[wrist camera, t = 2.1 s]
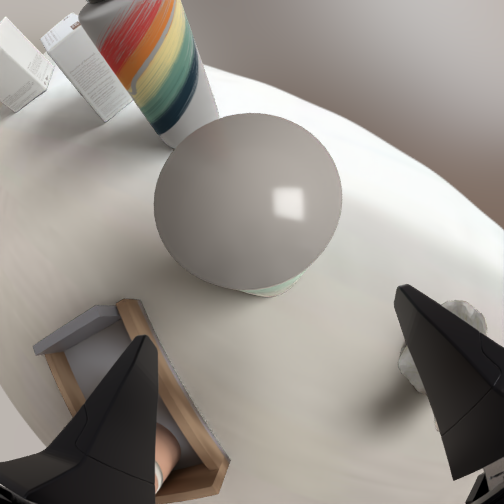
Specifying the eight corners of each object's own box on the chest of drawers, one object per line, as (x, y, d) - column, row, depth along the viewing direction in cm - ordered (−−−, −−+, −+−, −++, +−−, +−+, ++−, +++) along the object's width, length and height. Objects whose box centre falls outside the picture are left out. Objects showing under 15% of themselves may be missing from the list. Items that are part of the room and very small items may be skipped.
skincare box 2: (90, 101, 26) (36, 40, 14) (119, 77, 26) (72, 10, 14) (106, 125, 25) (42, 55, 13) (139, 98, 25) (86, 19, 13)
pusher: (127, 315, 20) (100, 316, 16) (64, 351, 20) (35, 355, 16) (123, 305, 20) (95, 305, 16) (61, 343, 20) (32, 346, 16)
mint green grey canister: (318, 273, 20) (378, 226, 7) (251, 311, 20) (202, 325, 7) (280, 210, 21) (278, 90, 8) (216, 245, 21) (132, 167, 8)
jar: (193, 462, 18) (173, 494, 13) (147, 472, 18) (122, 499, 13) (160, 412, 19) (131, 436, 14) (116, 426, 19) (84, 447, 14)
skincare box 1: (56, 66, 29) (9, 13, 14) (46, 92, 28) (-10, 35, 13) (23, 90, 30) (-25, 45, 15) (13, 116, 29) (-42, 71, 13)
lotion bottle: (152, 125, 24) (40, -37, 4) (201, 93, 24) (130, -85, 4) (177, 163, 23) (38, -34, 3) (232, 127, 23) (164, -95, 3)
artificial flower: (493, 452, 15) (518, 501, 6) (379, 349, 22) (388, 397, 13) (544, 393, 14) (584, 427, 4) (442, 271, 21) (489, 275, 11)
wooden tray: (230, 460, 18) (218, 493, 13) (135, 482, 18) (111, 507, 13) (140, 299, 21) (104, 297, 16) (60, 346, 21) (23, 350, 16)
